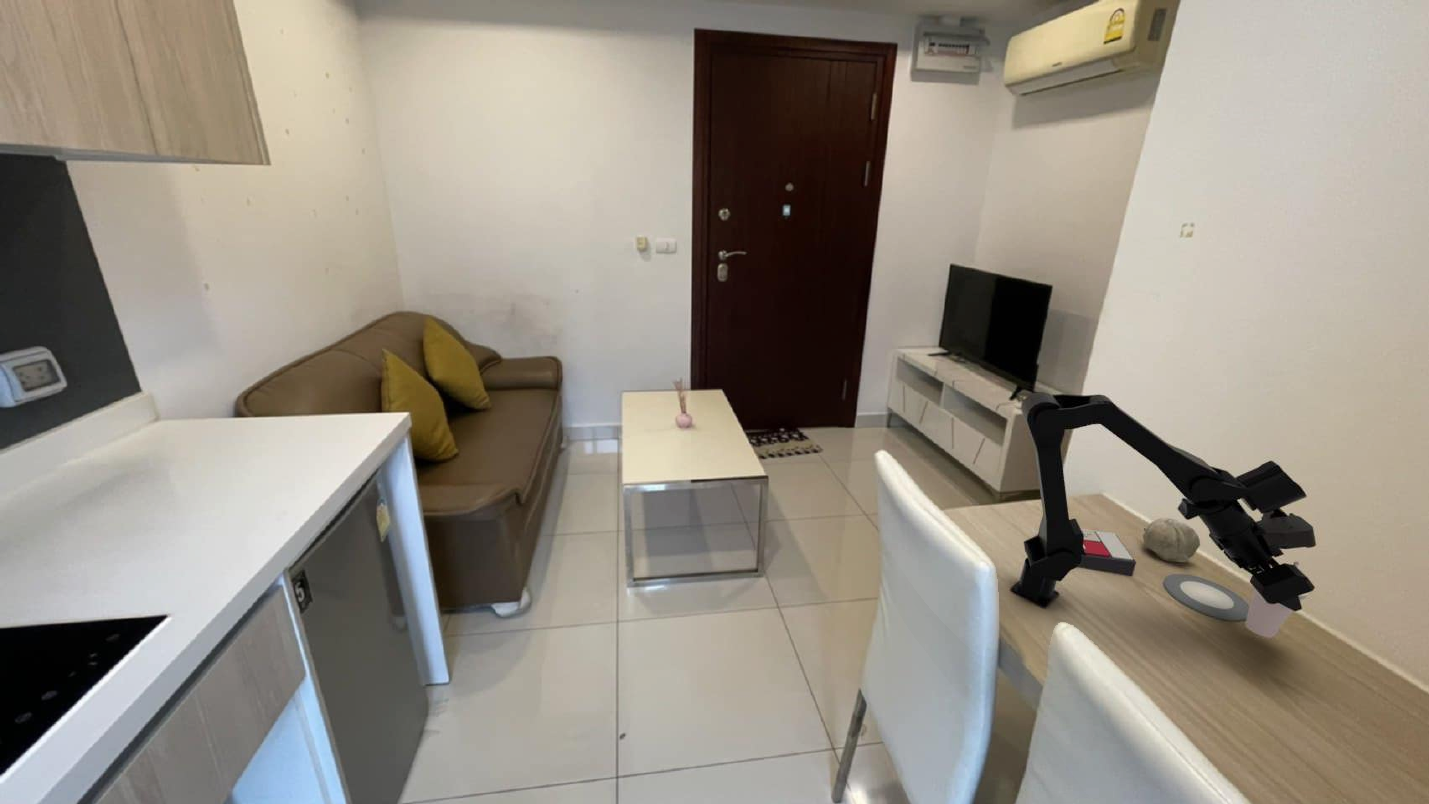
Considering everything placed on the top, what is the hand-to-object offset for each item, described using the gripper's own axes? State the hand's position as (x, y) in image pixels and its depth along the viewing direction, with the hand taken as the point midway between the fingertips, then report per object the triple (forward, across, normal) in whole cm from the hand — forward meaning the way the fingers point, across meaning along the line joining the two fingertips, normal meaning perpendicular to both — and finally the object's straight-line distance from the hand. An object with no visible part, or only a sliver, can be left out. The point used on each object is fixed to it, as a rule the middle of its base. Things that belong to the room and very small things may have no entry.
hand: (1286, 597), depth 94 cm
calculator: (-9, +19, +24) cm, 32 cm away
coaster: (+4, +12, +10) cm, 16 cm away
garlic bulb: (+3, +26, +12) cm, 28 cm away
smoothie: (+4, 0, +6) cm, 8 cm away
